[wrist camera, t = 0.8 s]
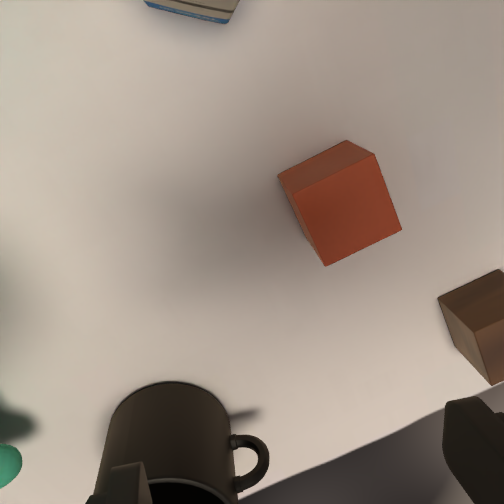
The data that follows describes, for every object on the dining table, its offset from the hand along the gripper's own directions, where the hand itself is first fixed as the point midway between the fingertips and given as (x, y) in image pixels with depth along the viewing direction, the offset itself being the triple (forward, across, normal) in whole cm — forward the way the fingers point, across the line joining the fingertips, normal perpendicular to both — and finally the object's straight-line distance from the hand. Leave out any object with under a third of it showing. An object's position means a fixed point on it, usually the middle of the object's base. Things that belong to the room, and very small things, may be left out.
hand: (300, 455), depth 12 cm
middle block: (+20, -7, -1) cm, 22 cm away
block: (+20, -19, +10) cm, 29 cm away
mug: (+21, +4, +17) cm, 27 cm away
